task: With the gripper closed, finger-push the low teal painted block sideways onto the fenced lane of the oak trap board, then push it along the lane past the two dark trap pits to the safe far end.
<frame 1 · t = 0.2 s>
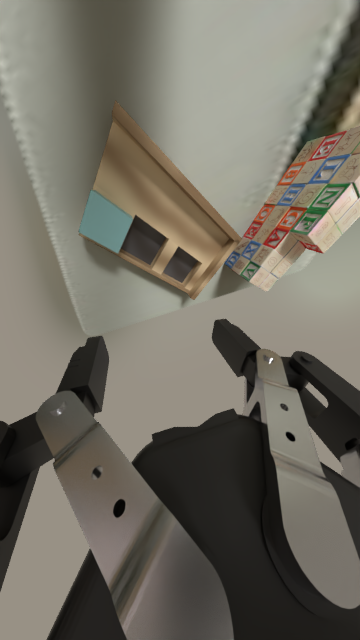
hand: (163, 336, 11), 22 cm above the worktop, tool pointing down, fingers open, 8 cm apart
block: (108, 222, 21), point 2 cm above the worktop, touching trap board
trap board: (163, 234, 26), on the worktop
stack of blocks: (266, 221, 30), on the worktop
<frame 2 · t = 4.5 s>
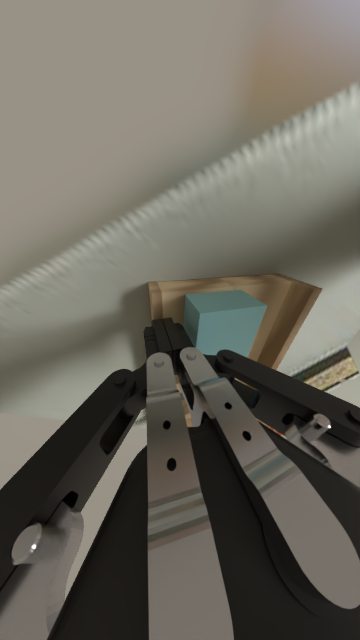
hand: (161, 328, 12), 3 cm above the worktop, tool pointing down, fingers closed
block: (210, 318, 13), point 3 cm above the worktop, touching trap board
trap board: (205, 358, 20), on the worktop
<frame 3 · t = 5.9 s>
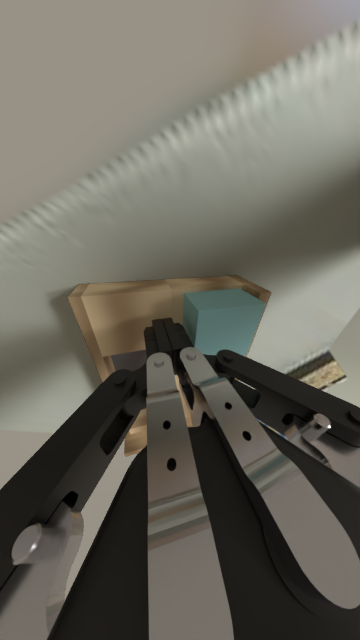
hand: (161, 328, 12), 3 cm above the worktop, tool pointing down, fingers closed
block: (209, 316, 13), point 2 cm above the worktop, touching gripper, trap board
trap board: (167, 364, 19), on the worktop
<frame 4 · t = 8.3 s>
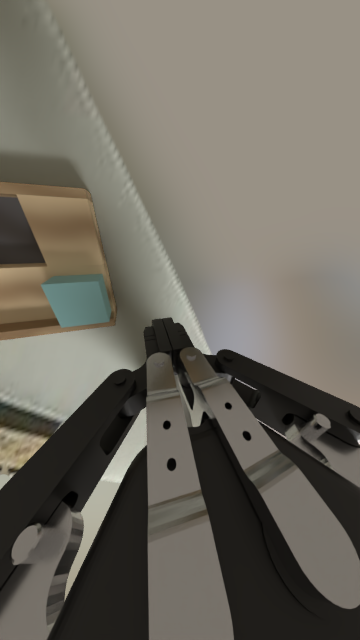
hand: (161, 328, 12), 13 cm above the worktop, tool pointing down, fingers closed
block: (85, 295, 18), point 2 cm above the worktop, touching trap board
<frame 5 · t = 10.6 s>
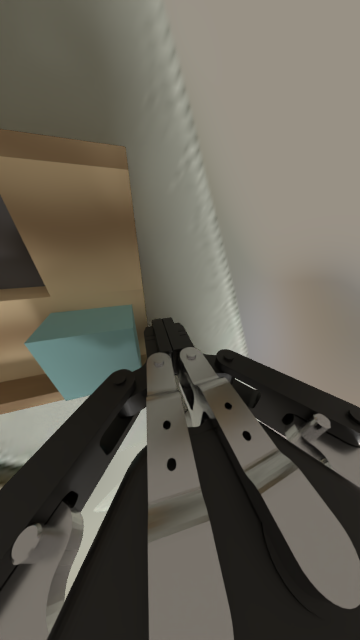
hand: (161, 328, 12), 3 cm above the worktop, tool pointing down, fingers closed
block: (103, 337, 11), point 3 cm above the worktop, touching gripper
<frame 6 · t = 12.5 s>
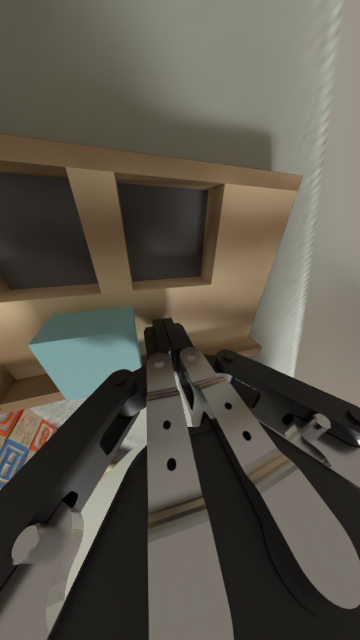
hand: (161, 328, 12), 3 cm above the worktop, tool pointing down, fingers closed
block: (104, 338, 12), point 3 cm above the worktop, touching gripper
trap board: (138, 279, 12), on the worktop
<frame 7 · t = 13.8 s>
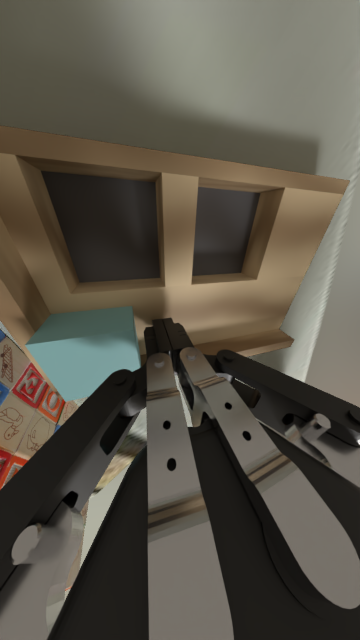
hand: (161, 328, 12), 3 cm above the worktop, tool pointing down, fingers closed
block: (103, 338, 11), point 3 cm above the worktop, touching gripper, trap board
trap board: (186, 275, 13), on the worktop
stack of blocks: (29, 394, 16), on the worktop
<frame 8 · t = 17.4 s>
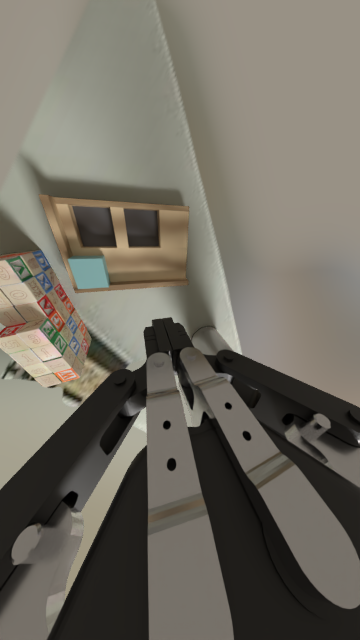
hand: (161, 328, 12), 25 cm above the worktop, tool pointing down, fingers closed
block: (93, 269, 28), point 2 cm above the worktop, touching trap board
trap board: (131, 246, 30), on the worktop
stack of blocks: (56, 304, 32), on the worktop
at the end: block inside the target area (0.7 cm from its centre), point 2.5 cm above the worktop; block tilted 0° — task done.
